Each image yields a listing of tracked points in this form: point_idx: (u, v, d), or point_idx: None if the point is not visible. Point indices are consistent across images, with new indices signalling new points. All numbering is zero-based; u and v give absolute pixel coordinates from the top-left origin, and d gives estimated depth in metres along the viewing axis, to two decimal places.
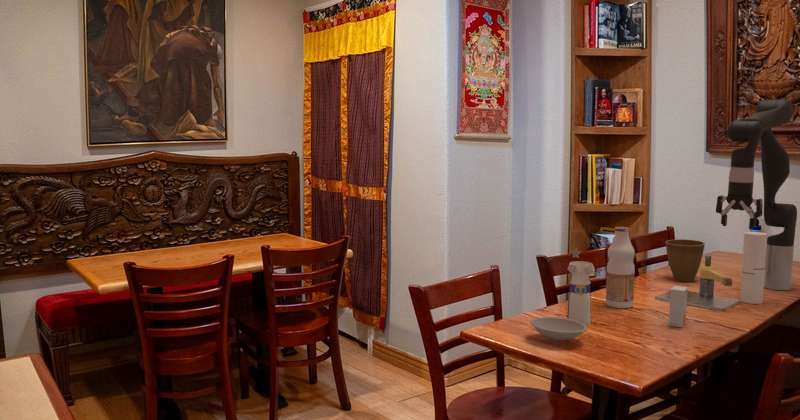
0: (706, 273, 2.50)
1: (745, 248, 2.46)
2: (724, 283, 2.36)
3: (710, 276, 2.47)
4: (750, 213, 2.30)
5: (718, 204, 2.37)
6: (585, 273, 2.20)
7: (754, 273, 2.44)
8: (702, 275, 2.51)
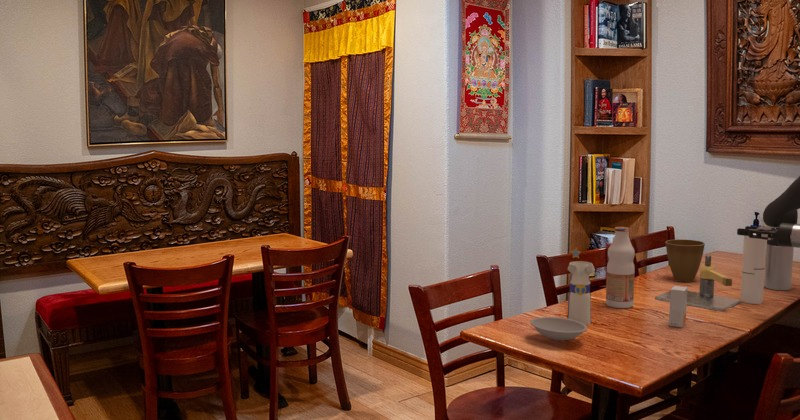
0: (706, 273, 2.50)
1: (745, 248, 2.46)
2: (724, 283, 2.36)
3: (710, 276, 2.47)
4: None
5: None
6: (585, 273, 2.20)
7: (754, 273, 2.44)
8: (702, 275, 2.51)
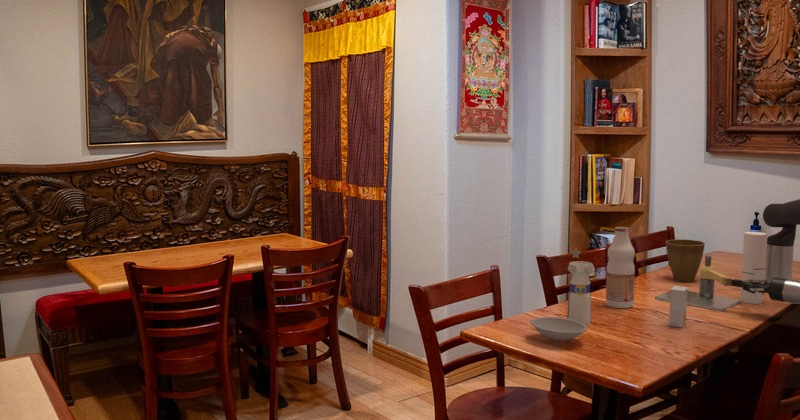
0: (706, 273, 2.50)
1: (745, 248, 2.46)
2: (724, 283, 2.36)
3: (710, 276, 2.47)
4: None
5: None
6: (585, 273, 2.20)
7: (754, 273, 2.44)
8: (702, 275, 2.51)
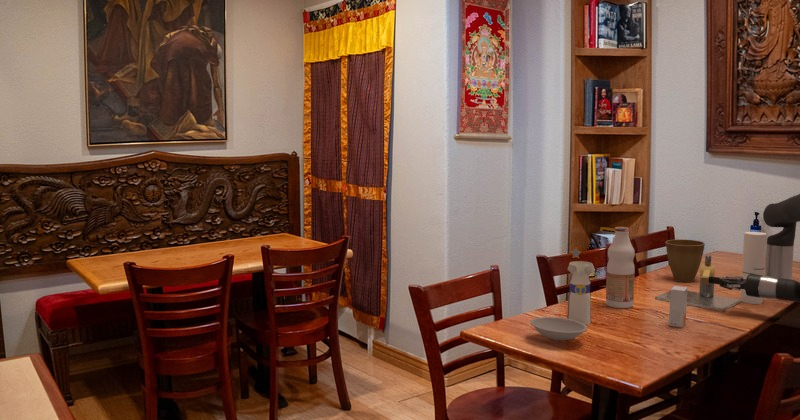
0: (703, 273, 2.50)
1: (745, 248, 2.46)
2: None
3: None
4: None
5: None
6: (585, 273, 2.20)
7: (754, 273, 2.44)
8: (700, 274, 2.52)
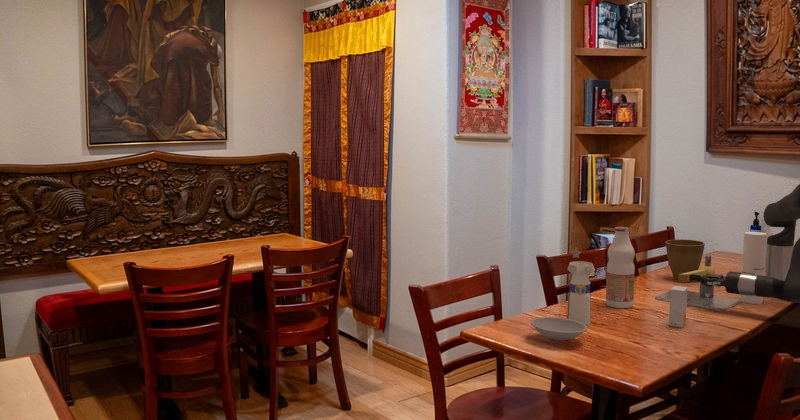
0: None
1: (745, 248, 2.46)
2: None
3: None
4: None
5: (706, 285, 2.36)
6: (585, 273, 2.20)
7: (754, 273, 2.44)
8: None
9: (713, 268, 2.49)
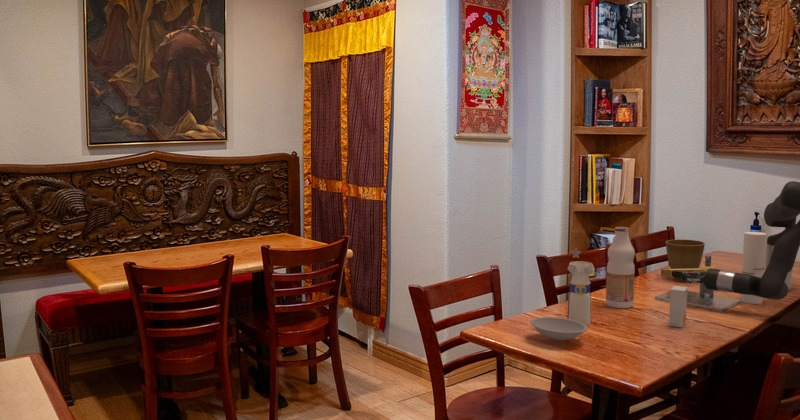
0: None
1: (745, 248, 2.46)
2: None
3: None
4: None
5: None
6: (585, 273, 2.20)
7: (754, 273, 2.44)
8: None
9: None
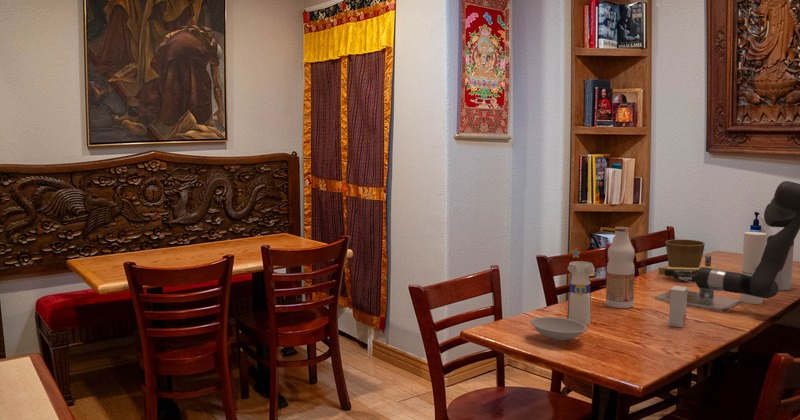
0: None
1: (745, 248, 2.46)
2: None
3: None
4: None
5: None
6: (585, 273, 2.20)
7: None
8: None
9: None
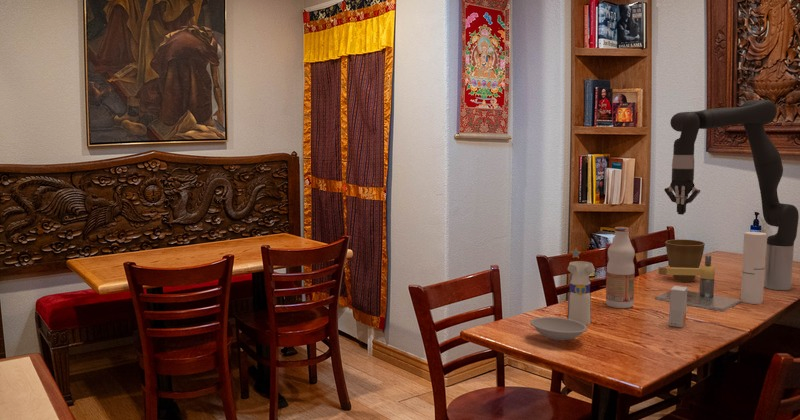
0: None
1: (745, 248, 2.46)
2: None
3: None
4: (683, 199, 2.50)
5: (669, 195, 2.54)
6: (585, 273, 2.20)
7: (754, 273, 2.44)
8: None
9: (708, 268, 2.49)
